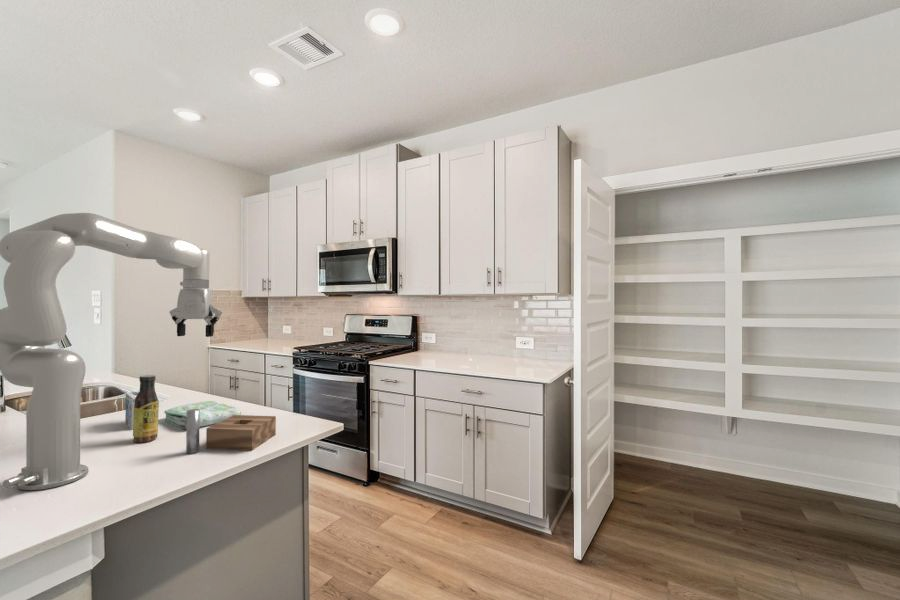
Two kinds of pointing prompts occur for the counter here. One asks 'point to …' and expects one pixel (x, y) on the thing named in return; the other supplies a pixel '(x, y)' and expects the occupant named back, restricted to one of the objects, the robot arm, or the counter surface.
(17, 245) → the robot arm
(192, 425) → the pin
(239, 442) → the socket block
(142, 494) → the counter surface
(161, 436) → the counter surface
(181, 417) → the towel
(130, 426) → the light bulb box
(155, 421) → the sauce bottle
